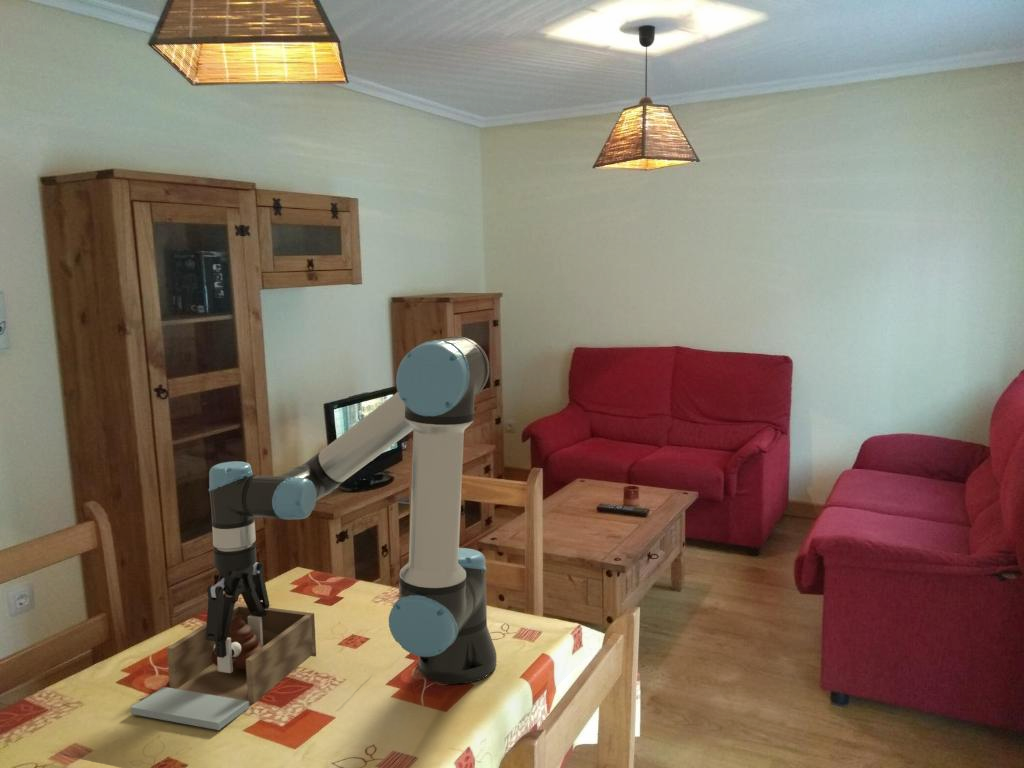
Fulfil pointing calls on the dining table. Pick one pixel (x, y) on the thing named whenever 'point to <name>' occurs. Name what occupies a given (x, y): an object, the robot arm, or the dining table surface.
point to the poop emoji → (240, 642)
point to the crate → (279, 656)
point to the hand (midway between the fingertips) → (241, 659)
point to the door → (190, 708)
